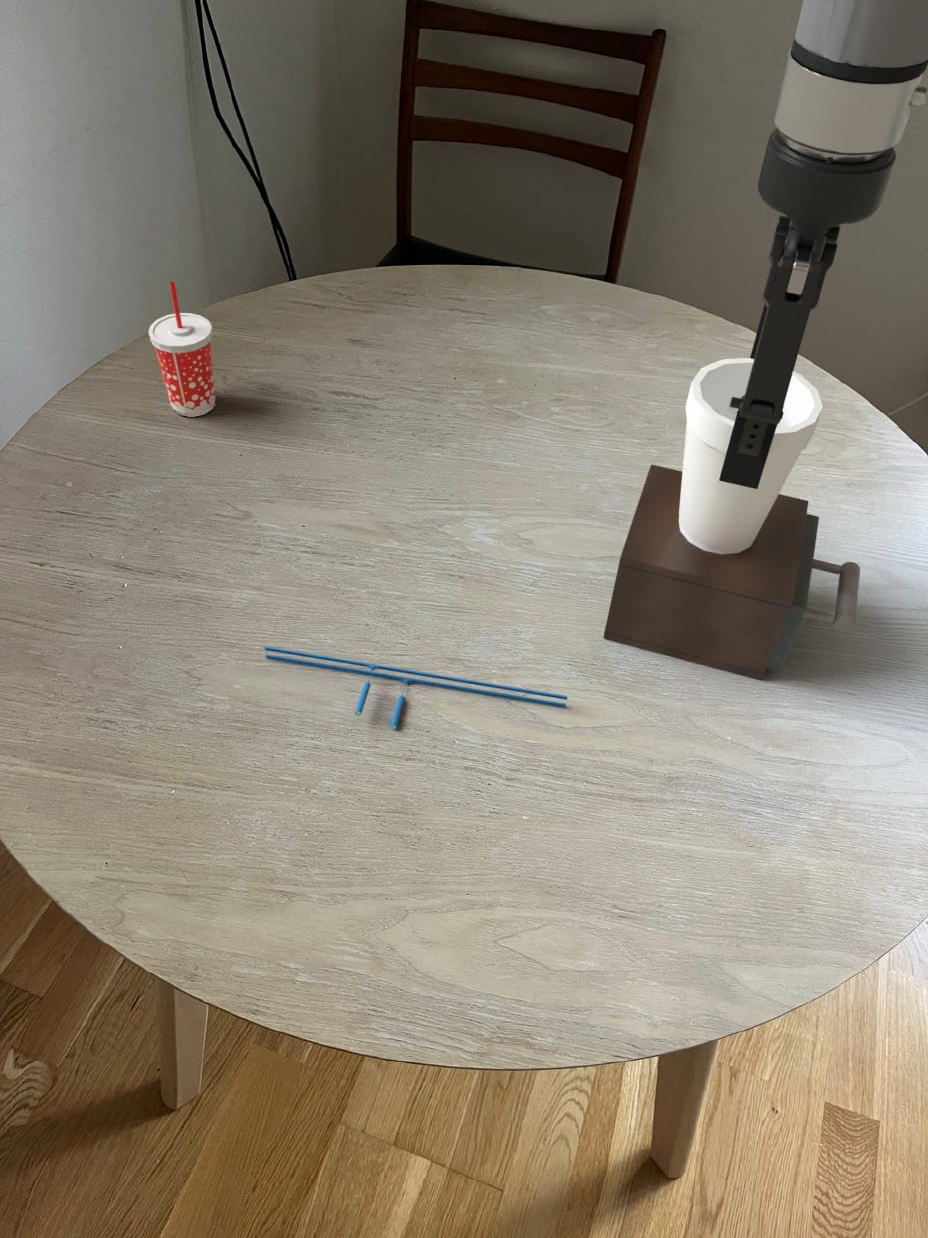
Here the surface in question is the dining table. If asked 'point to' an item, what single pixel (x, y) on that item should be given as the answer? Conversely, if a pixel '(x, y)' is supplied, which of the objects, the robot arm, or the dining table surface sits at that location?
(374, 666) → the bar handle
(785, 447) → the foam cup
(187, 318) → the beverage cup
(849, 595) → the drawer
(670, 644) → the cabinet
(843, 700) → the dining table surface
